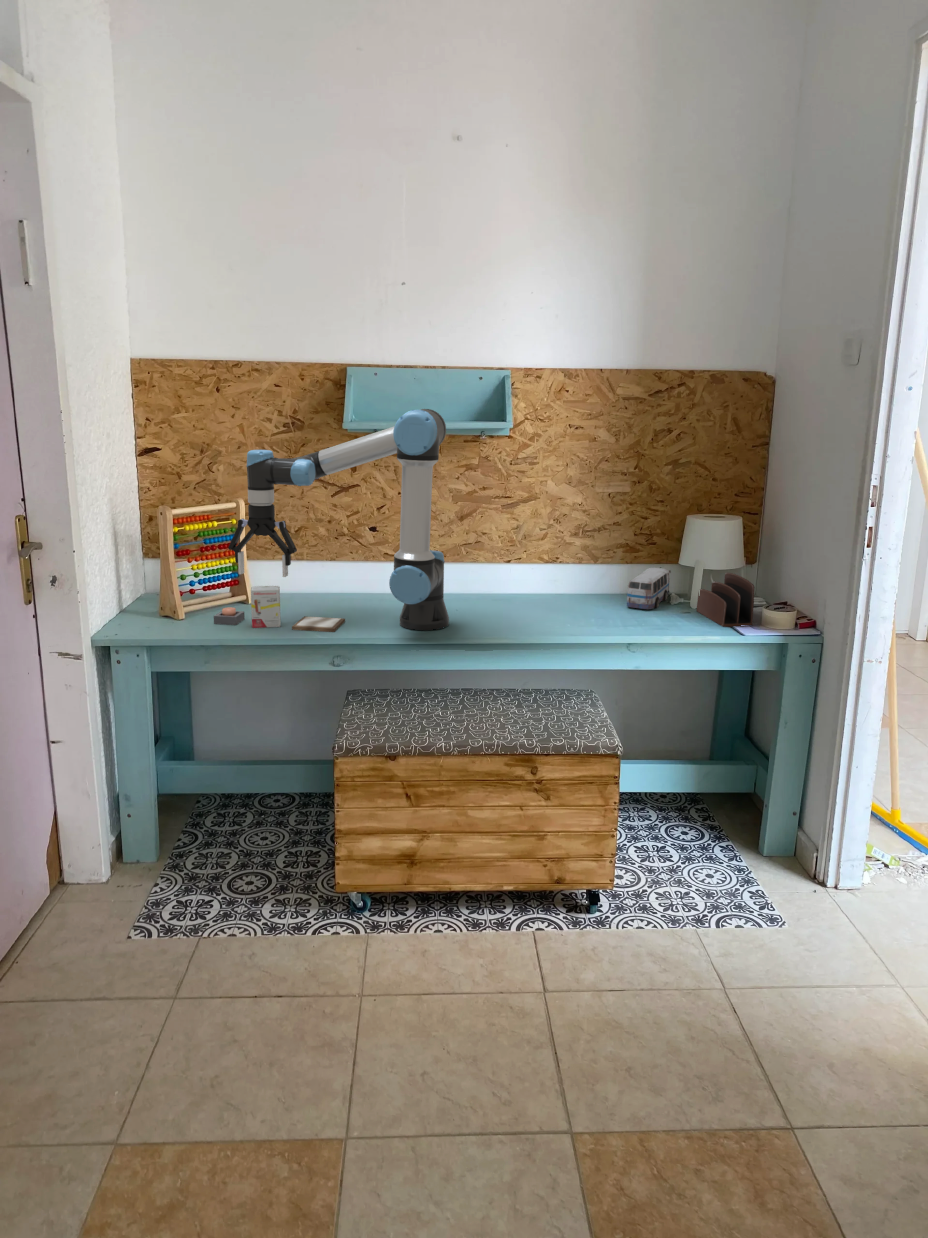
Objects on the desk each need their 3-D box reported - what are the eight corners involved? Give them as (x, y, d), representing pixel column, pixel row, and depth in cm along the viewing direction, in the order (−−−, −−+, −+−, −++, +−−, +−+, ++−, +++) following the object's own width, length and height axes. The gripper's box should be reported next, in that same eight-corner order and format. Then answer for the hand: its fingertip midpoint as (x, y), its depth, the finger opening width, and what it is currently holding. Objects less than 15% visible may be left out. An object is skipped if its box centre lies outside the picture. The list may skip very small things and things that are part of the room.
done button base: (244, 619, 282) (244, 611, 281) (236, 625, 275) (235, 617, 275) (223, 618, 283) (222, 610, 282) (213, 623, 276) (213, 615, 276)
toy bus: (671, 595, 323) (674, 568, 320) (652, 612, 299) (654, 583, 296) (644, 592, 327) (646, 565, 324) (623, 609, 303) (624, 579, 300)
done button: (237, 615, 280) (237, 607, 280) (232, 618, 277) (232, 610, 276) (225, 614, 281) (225, 607, 280) (220, 617, 277) (220, 610, 276)
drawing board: (345, 621, 281) (345, 617, 281) (334, 632, 270) (334, 628, 270) (304, 619, 283) (304, 615, 283) (291, 629, 272) (291, 625, 271)
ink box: (251, 628, 272) (249, 589, 269) (252, 623, 277) (250, 586, 274) (280, 627, 274) (279, 589, 271) (280, 623, 279) (279, 585, 276)
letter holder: (723, 610, 303) (727, 569, 299) (752, 626, 284) (757, 582, 281) (695, 611, 301) (699, 569, 298) (722, 627, 282) (726, 583, 279)
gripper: (306, 504, 268) (307, 574, 274) (225, 499, 271) (228, 569, 277) (298, 507, 261) (299, 579, 266) (215, 503, 264) (218, 574, 270)
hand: (263, 574), depth 272 cm, fingers open, 13 cm apart
